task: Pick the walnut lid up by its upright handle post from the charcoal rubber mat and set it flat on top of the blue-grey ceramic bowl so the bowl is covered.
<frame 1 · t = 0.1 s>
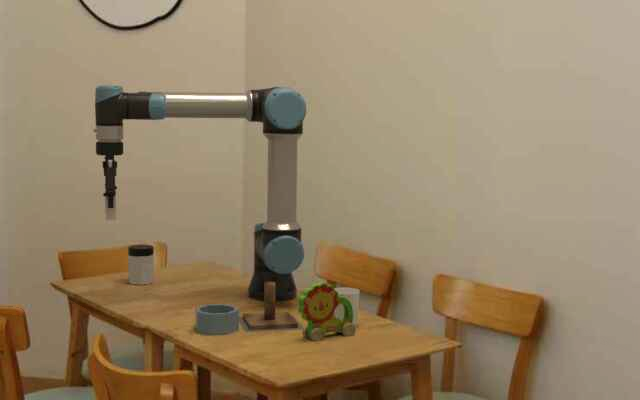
hand: (110, 216, 270), 28 cm above the table, fingers open, 13 cm apart
toy lion: (325, 339, 250), on the table
lid: (269, 322, 263), resting on mat
jar: (141, 283, 314), on the table
bowl: (217, 331, 256), on the table
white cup: (344, 327, 263), on the table
mat: (269, 324, 263), on the table
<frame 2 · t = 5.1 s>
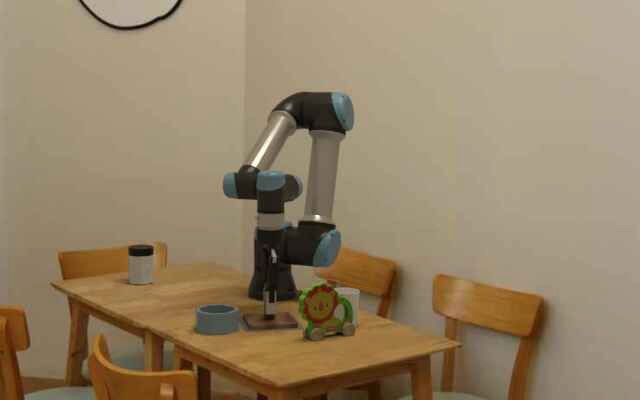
hand: (269, 312, 262), 4 cm above the table, fingers closed on lid, 3 cm apart
lid: (269, 322, 263), resting on mat, touching gripper
everything else where it was.
when the fingers open (11 cm above the table, at t = 9.7 s): lid drops 2 cm, resting on bowl.
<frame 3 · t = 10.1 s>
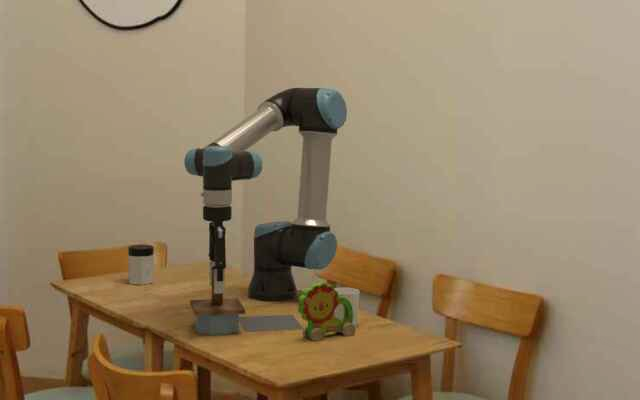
hand: (217, 288, 254), 12 cm above the table, fingers open, 9 cm apart
lid: (217, 309, 255), point 6 cm above the table, touching bowl
everything else where it was.
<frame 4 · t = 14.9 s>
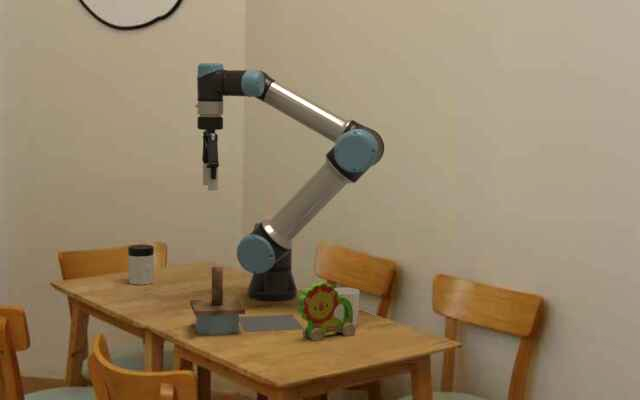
hand: (210, 187, 283), 35 cm above the table, fingers open, 13 cm apart
nothing on the table moved.
at the end: lid 0.0 cm off-centre on the bowl, point 6.0 cm above the bowl's base; lid tilted 0°; the gripper is holding nothing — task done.
